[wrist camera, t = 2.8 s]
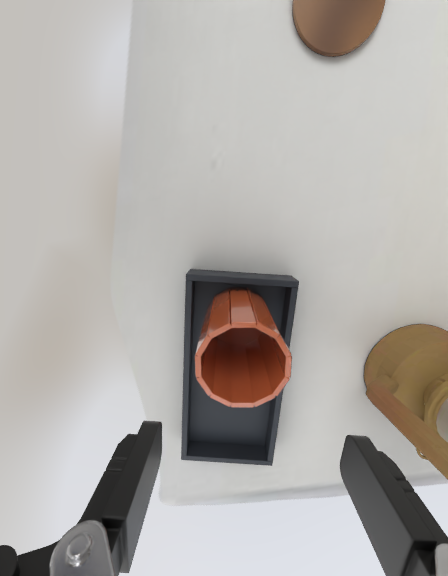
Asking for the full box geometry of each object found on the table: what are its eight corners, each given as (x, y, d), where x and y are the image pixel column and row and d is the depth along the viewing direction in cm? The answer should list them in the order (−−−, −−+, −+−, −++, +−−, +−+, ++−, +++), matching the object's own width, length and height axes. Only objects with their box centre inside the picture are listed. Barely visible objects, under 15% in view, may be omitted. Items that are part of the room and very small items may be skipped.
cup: (195, 327, 25) (178, 382, 16) (226, 275, 24) (225, 304, 15) (248, 355, 26) (258, 421, 17) (280, 306, 24) (310, 351, 16)
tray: (190, 268, 24) (186, 273, 22) (291, 275, 24) (299, 281, 22) (185, 440, 30) (181, 460, 27) (268, 445, 30) (272, 465, 27)
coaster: (296, 64, 20) (297, 61, 20) (288, -46, 18) (289, -52, 18) (383, 47, 20) (386, 44, 19) (383, -67, 18) (387, -74, 17)
